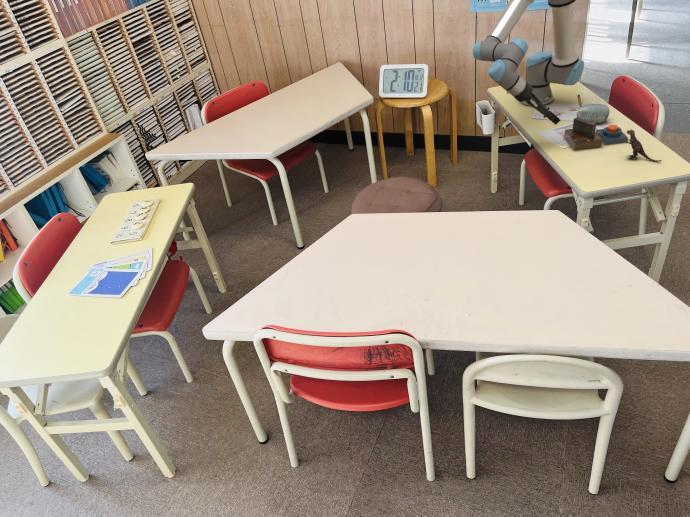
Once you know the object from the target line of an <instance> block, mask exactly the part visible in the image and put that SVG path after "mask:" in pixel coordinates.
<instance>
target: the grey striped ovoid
mask: <svg viewBox="0 0 690 517" xmlns="http://www.w3.org/2000/svg"><path fill="white" fill-rule="evenodd" d="M609 117H610V108H609V106H608V105H607V104H604V103H588V104H584V105H581V106H580V107H579V108H578V109H577V111H576V115H575V118H580V119H583V120H586V121H589V122H592V123H596V124H600V123H601V124H602V123H604V122H606V121H607V120H608V118H609Z"/></svg>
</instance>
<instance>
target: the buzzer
mask: <svg viewBox="0 0 690 517" xmlns="http://www.w3.org/2000/svg"><path fill="white" fill-rule="evenodd" d="M607 129H608V126H606V127H604V128H600V129H595V132H596V133H597V132H601V133H597V134H598V135H599V136H600V138H601V139H602V144H603V145H605V146H609V145H610V146H611V145H616V144H617V145H619V144H624V143H625V144H627V142H629V140H627V139H629V137H628V135H626V134H625V133H624V131H622V130H623V129H622V128H621V127H619V126H618V131H617V132H609V131H607ZM626 141H627V142H626Z"/></svg>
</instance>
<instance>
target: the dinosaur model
mask: <svg viewBox="0 0 690 517" xmlns="http://www.w3.org/2000/svg"><path fill="white" fill-rule="evenodd" d="M635 133H636V132H635V130H634V129H629V130H627V131H626V134H627V135H629V137H630V138H628V139H627V140H628V141H626V144H628V145H630V147H631V149H632V154H631V155H629V157H628V160H629V161H630V160H634V159H637V157H638V156H639V155H641V156H642V157H643V158H645V159H646V160H648V161H651V162H656V163H658V162H662V161H663V160H662V159H658V160H656V159H653V158H651V157H650V156H648V155H647V153H646V152H645V149H644V148H643V144H642V143H641V141H639V139H638V138H637V137H636V134H635Z"/></svg>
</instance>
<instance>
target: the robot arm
mask: <svg viewBox="0 0 690 517" xmlns="http://www.w3.org/2000/svg"><path fill="white" fill-rule="evenodd" d="M576 1H577V0H547V5H548V7H549V8H551V13H552V31H553V48H554V49H553V50H554V54H553V53H552V52H550V51H541V52H540V51H539V52H536V53H534V54H531V55H529V56H528V57H527V58H526V65H525V79H524V78H523V77H522V76H521V75H520V74H518V73H517V70H518V68H519V66H520V65H521V63H522V61H523V59H524V58H525V56H526V53H527V52H528V49H529V44H528V43H527V41H526V40H524V39H523V38H521V37H515V38H513V39H512V40H511V41H510V42H509V43H505V42H506V40H507V39H508V38H509V36H510V34H511V33H512V31H513V30H514V29H515V27H516V25H517V23H518V22H519V21H520V19H521V17H522V16H523V14H524V13H525V12H526V10H527V8H528V7H529V6H530V5H533V3H534V2H535V0H510V1H509V3H508V4H507V5H506V7H505V8H504V10H503V11H502V13H501V14H500V16H499V17H498V19H497V21H496V23H495V24H494V25H493V27H492V28H491V29H490V31H489V33H488V34H487V36H486V38H485V39H484V40H479V41H477V42H475V43H474V45H473V48H472V56H473V58H474V59H475V60H478V61H481V62H492V64H491V65H490V66H489V67H488V70H487V75H488V77H489V78H491V80H493V82H494V83H496V84H497V85H498V86H500V87H501V88H502V89H503V90H505V91H506V94H507V95H511V96H512V97H513V98H514V99H515V100H516V101H518V102H519V103H521V104H523V105H525V106H529V107H532V108H533V109H534V110H536V111H537V112H539V113H540V114H541V115H543V118H544V119H545V118H547V119H548V120H549V121H550V122H551V123H553V124H554V125H555V126H557V125H558V124H559V123H560V122H561V118H559V117H558V116H557V115H556V114H554V112H552V111H551V110H550V109H551V108H550V107H549V106H548V107H547V105H548V104H550V103H552V102H553V92H552V91H553V90H552V88H551V84H555V85H562V86H574V85H576V84H578V82H579V80H580V79H581V77H582V74H583V72H584V69H585V61H584V60H582V59H579V58H580V57H579V53H578V51H576V47H575V46H576V44H575V41H576V40H575V12H574V10H575V9H574V8H575V7H574V4H575V3H576Z"/></svg>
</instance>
